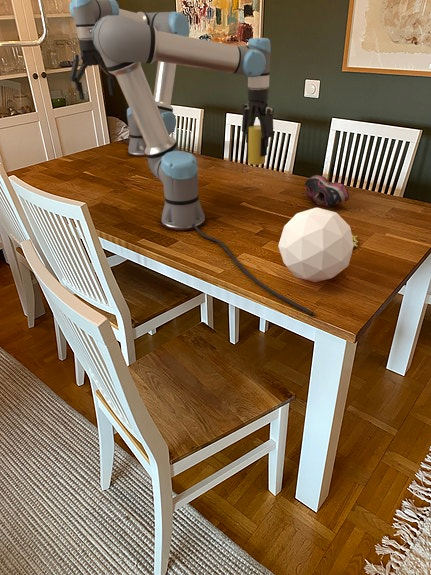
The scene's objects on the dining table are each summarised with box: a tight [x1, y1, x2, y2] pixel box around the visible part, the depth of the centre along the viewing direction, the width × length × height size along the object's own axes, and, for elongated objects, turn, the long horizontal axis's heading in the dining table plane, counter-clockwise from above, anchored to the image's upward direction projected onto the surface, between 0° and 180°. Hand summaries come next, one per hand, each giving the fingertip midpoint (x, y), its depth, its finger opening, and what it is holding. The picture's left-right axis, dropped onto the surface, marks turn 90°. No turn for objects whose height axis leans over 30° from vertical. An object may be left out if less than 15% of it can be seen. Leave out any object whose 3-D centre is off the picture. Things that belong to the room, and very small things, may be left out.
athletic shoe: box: [302, 174, 350, 208], centre depth 165 cm, size 11×22×12 cm
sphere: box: [277, 207, 355, 283], centre depth 118 cm, size 19×20×20 cm
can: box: [247, 124, 266, 166], centre depth 167 cm, size 6×6×13 cm
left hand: (97, 97), depth 185 cm, fingers open, 13 cm apart
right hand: (256, 153), depth 168 cm, fingers closed on can, 6 cm apart
